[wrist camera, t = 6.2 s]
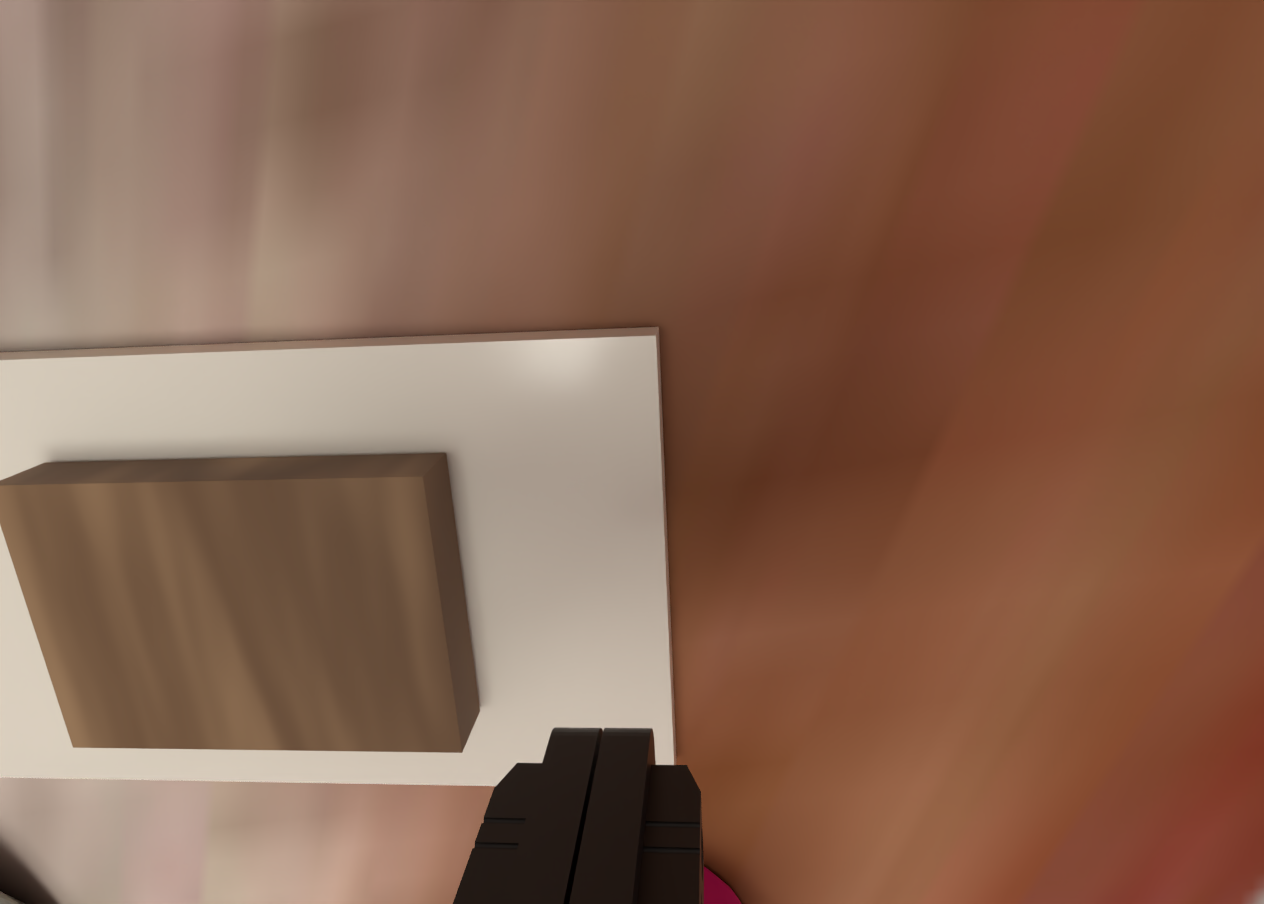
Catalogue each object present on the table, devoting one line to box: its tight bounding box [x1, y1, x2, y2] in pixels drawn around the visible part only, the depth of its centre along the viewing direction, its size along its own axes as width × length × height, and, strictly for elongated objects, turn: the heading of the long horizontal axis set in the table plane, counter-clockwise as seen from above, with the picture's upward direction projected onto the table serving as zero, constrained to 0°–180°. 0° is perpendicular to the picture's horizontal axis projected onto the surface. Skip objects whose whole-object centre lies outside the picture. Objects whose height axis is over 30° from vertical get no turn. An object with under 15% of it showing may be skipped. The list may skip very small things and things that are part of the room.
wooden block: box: [0, 453, 480, 753], centre depth 19 cm, size 2×7×10 cm
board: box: [0, 327, 676, 786], centre depth 20 cm, size 20×12×1 cm, turn 93°
